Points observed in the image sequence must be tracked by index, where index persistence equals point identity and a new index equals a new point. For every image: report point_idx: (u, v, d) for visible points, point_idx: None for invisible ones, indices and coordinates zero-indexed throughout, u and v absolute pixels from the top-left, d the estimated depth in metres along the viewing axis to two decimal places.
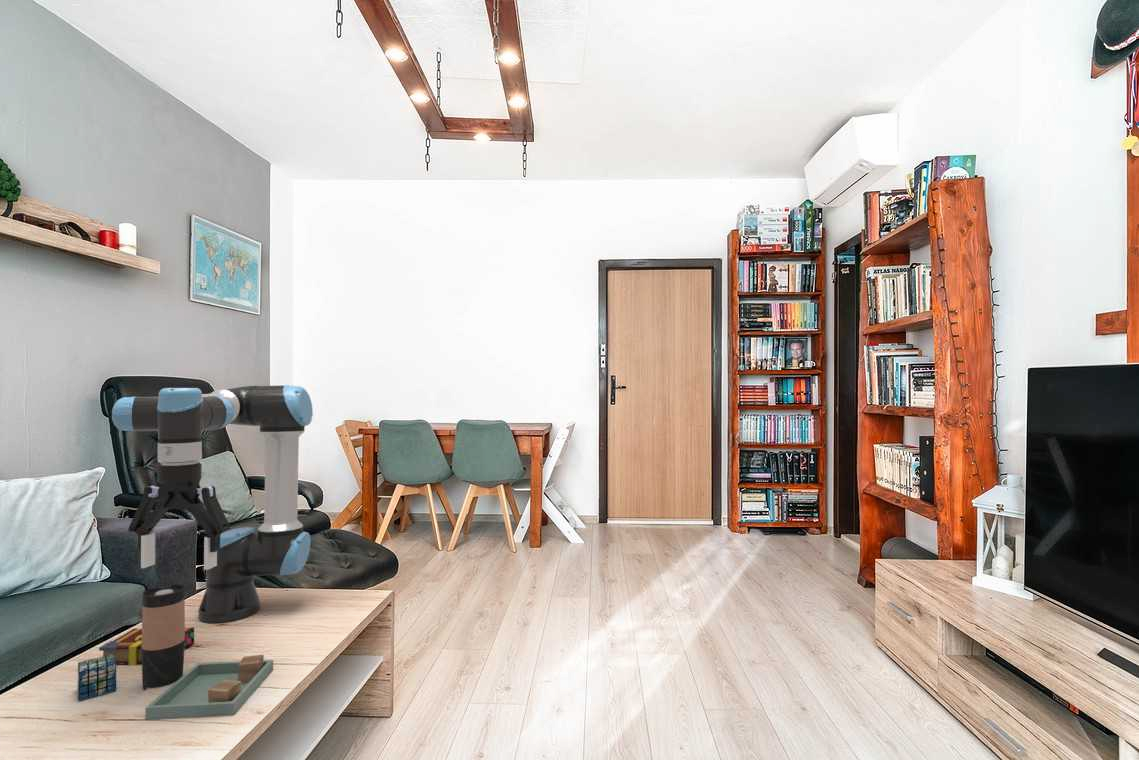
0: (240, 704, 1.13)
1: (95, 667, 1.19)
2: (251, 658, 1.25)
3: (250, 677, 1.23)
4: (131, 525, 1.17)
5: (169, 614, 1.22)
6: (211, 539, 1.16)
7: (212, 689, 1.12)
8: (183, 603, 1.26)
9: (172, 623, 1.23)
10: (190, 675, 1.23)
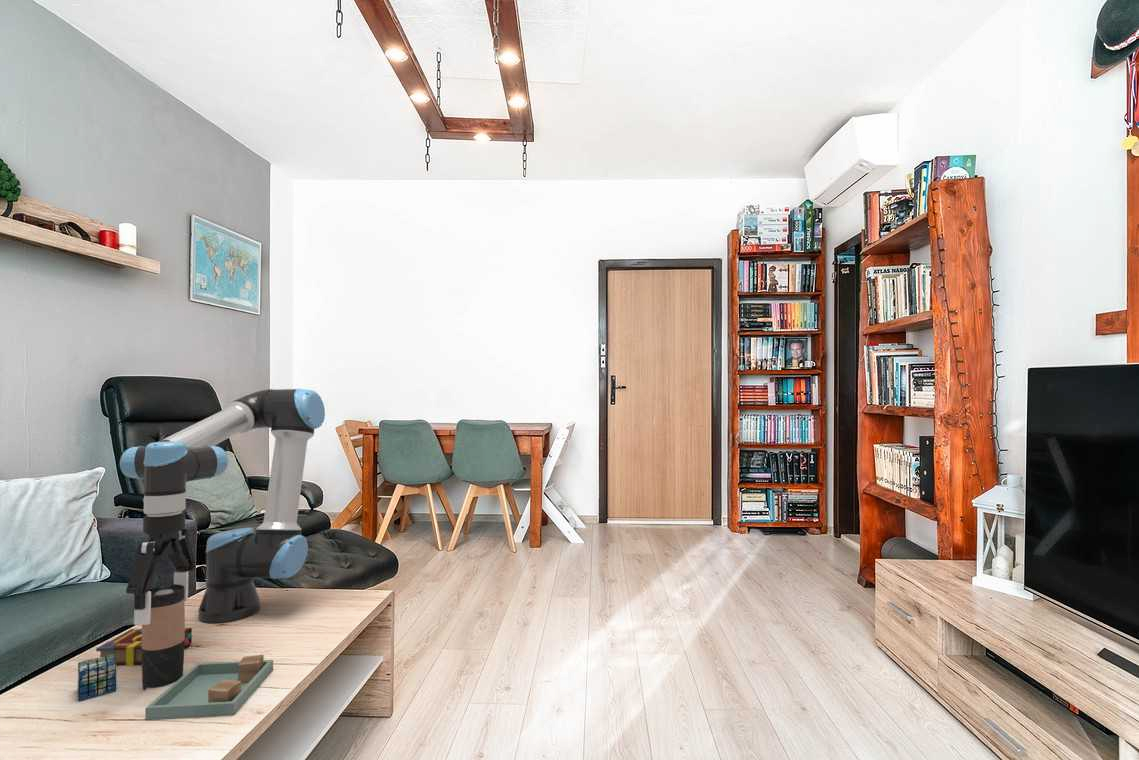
0: (240, 704, 1.13)
1: (95, 667, 1.19)
2: (251, 658, 1.25)
3: (250, 677, 1.23)
4: None
5: (169, 614, 1.22)
6: None
7: (212, 689, 1.12)
8: (183, 603, 1.26)
9: (172, 623, 1.23)
10: (190, 675, 1.23)
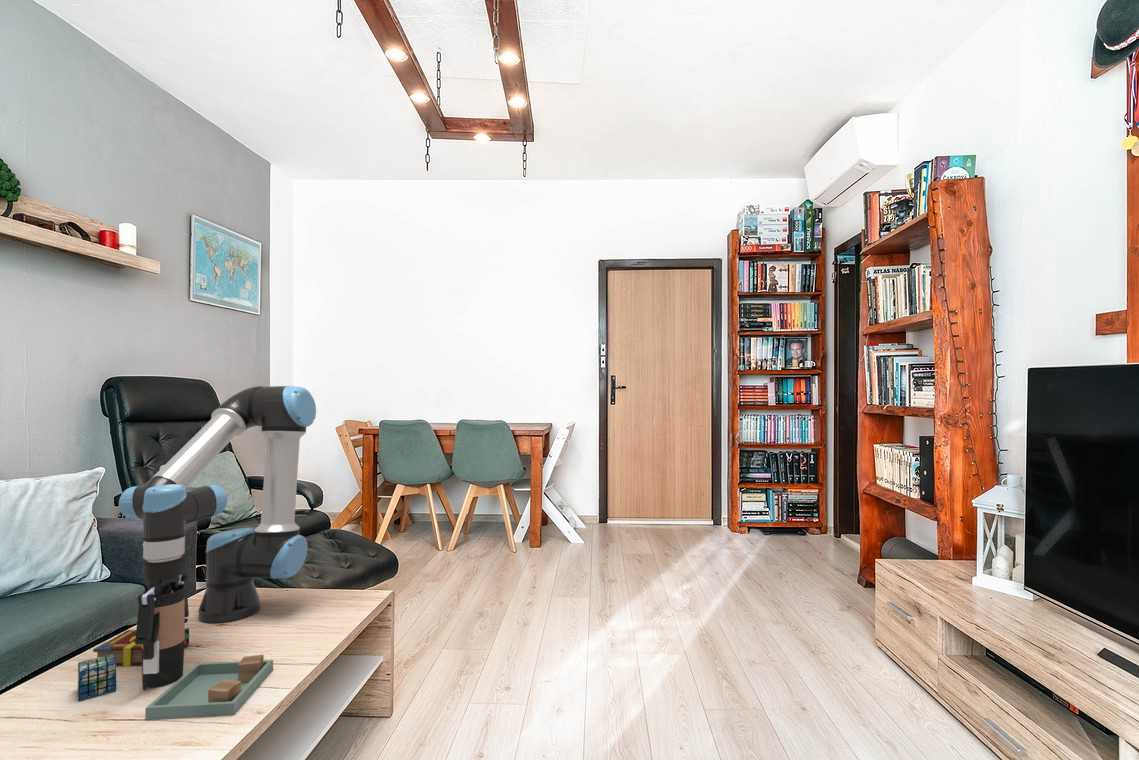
0: (240, 704, 1.13)
1: (95, 667, 1.19)
2: (251, 658, 1.25)
3: (250, 677, 1.23)
4: None
5: (169, 614, 1.22)
6: None
7: (212, 689, 1.12)
8: (183, 603, 1.26)
9: (172, 623, 1.23)
10: (190, 675, 1.23)
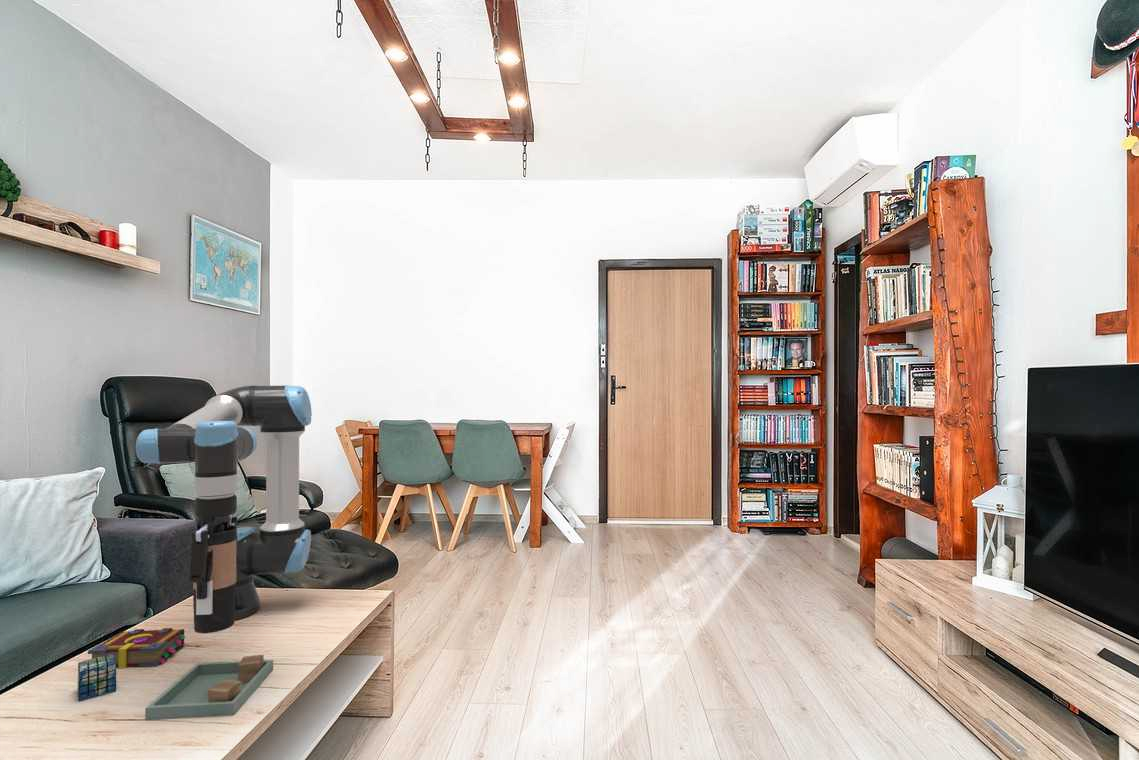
0: (240, 704, 1.13)
1: (95, 667, 1.19)
2: (251, 658, 1.25)
3: (250, 677, 1.23)
4: None
5: (222, 553, 1.17)
6: None
7: (212, 689, 1.12)
8: (235, 543, 1.20)
9: (225, 563, 1.17)
10: (190, 675, 1.23)
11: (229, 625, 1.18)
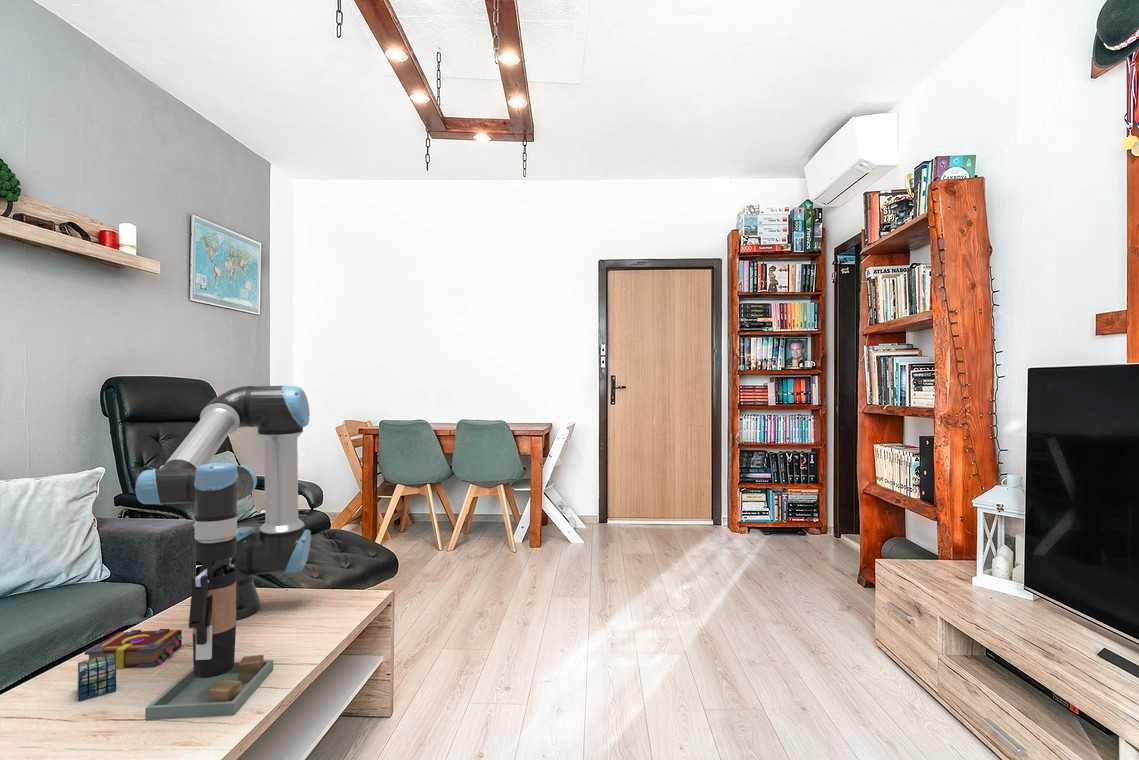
0: (240, 704, 1.13)
1: (95, 667, 1.19)
2: (251, 658, 1.25)
3: (250, 677, 1.23)
4: None
5: (222, 597, 1.17)
6: None
7: (212, 689, 1.12)
8: (235, 586, 1.20)
9: (225, 607, 1.17)
10: (190, 675, 1.23)
11: (229, 669, 1.18)
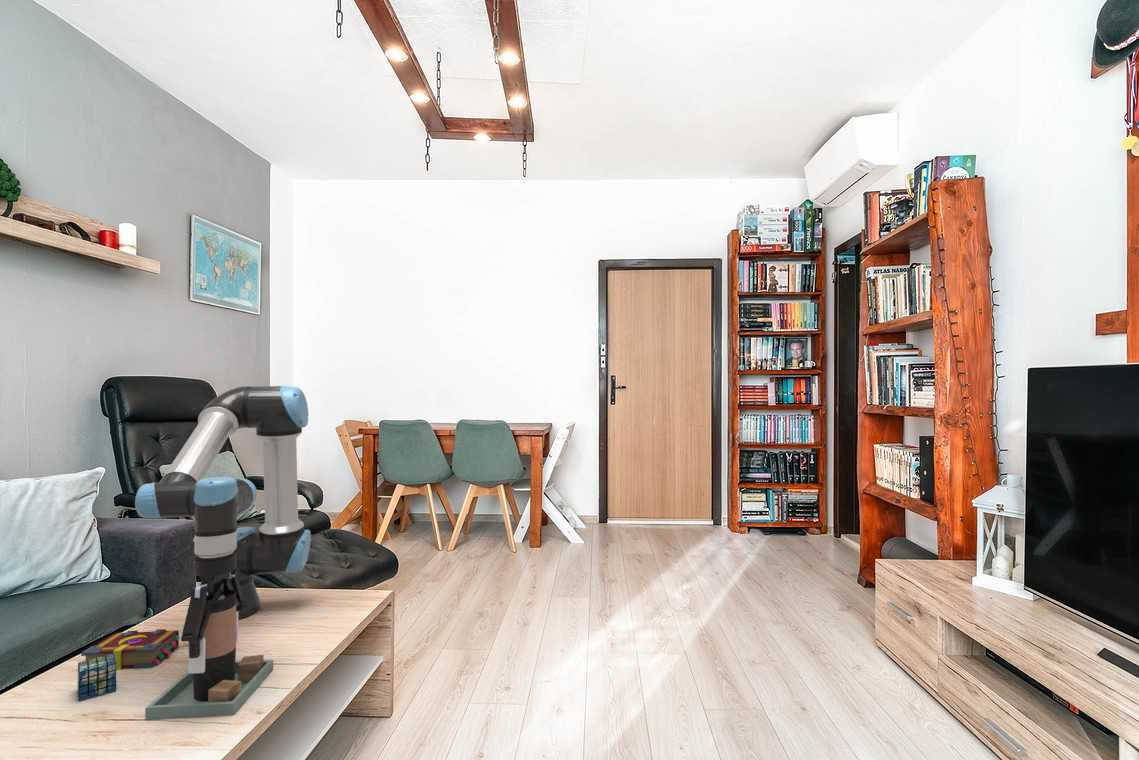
0: (240, 704, 1.13)
1: (95, 667, 1.19)
2: (251, 658, 1.25)
3: (250, 677, 1.23)
4: None
5: (222, 621, 1.17)
6: None
7: (212, 689, 1.12)
8: (235, 609, 1.20)
9: (225, 630, 1.17)
10: (190, 675, 1.23)
11: None
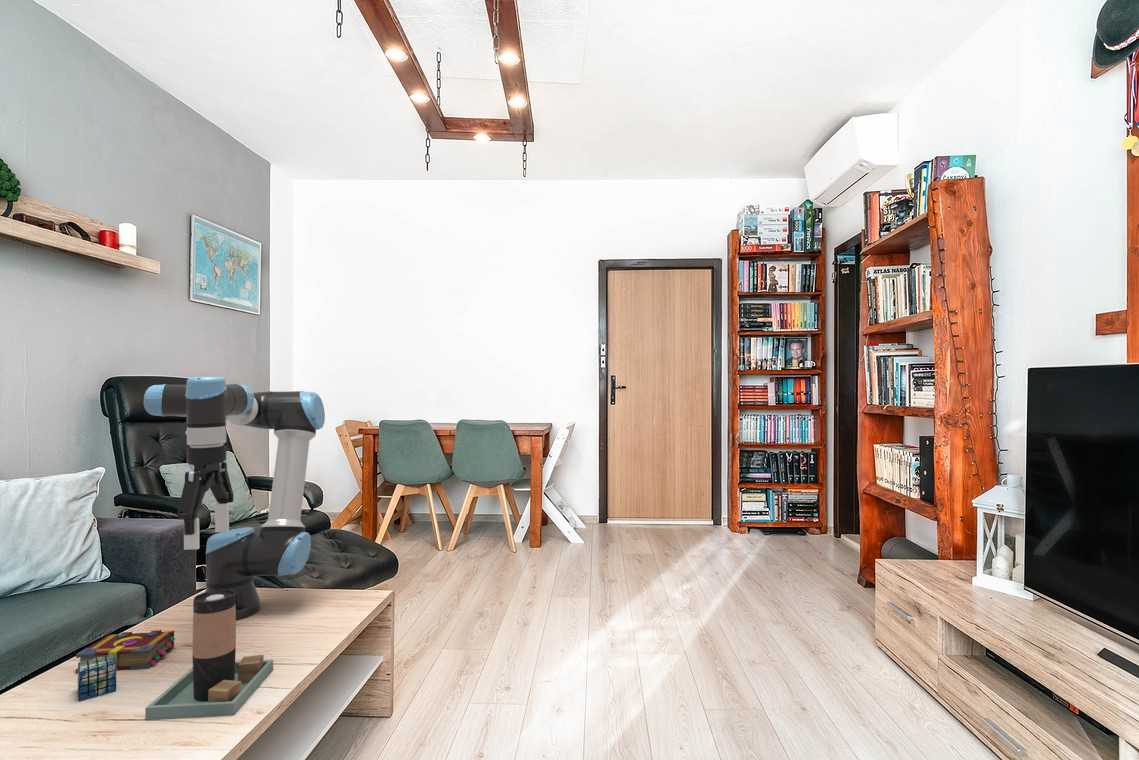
0: (240, 704, 1.13)
1: (95, 667, 1.19)
2: (251, 658, 1.25)
3: (250, 677, 1.23)
4: None
5: (221, 620, 1.17)
6: None
7: (212, 689, 1.12)
8: (234, 609, 1.20)
9: (224, 630, 1.17)
10: (190, 675, 1.23)
11: None
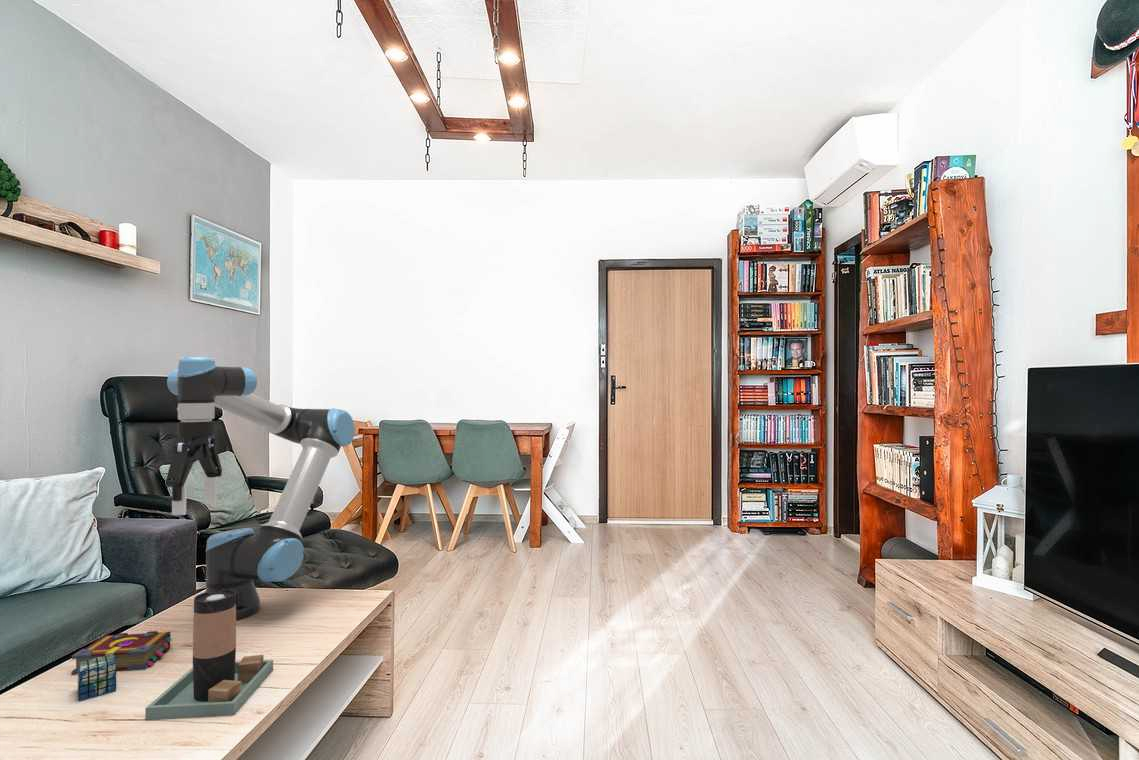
0: (240, 704, 1.13)
1: (95, 667, 1.19)
2: (251, 658, 1.25)
3: (250, 677, 1.23)
4: None
5: (222, 620, 1.17)
6: None
7: (212, 689, 1.12)
8: (235, 609, 1.20)
9: (225, 630, 1.17)
10: (190, 675, 1.23)
11: None
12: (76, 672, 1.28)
